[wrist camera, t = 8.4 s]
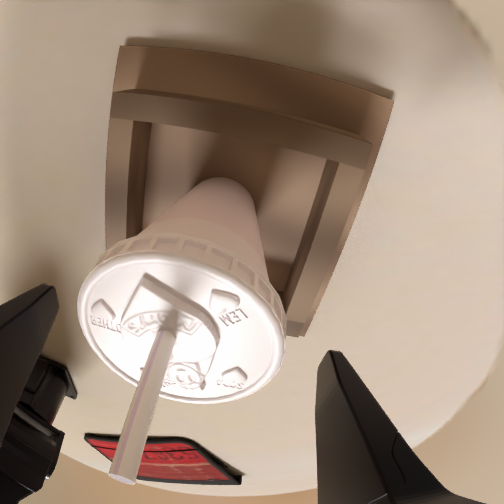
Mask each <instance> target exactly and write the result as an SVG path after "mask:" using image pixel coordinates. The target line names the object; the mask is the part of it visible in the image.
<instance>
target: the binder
mask: <svg viewBox="0 0 504 504" xmlns="http://www.w3.org/2000/svg"><path fill="white" fill-rule="evenodd" d="M84 439H85V441H86V442H87V443H89V444H90V445H91V446H92V447H94V448H95V449H96V450H98V451H99V452H100V453H101V454H103V455H104V456H105V457H106V458H107V459H109V460H110V461H111V462H112V461H113V458H114V455H115V451H116V448H117V445H118V442H119V439H120V438H109V437H102V436H97V435H94V434H85V436H84ZM218 464H219V465H221V466H223V467H225V468H228V467H227V466H226V465H225V464H223V463H222V462H221V461H219V460H218V459H217V458H215V457H214V456H213V455H211V454H210V453H209V452H207V451H206V450H204V449H203V448H202V447H200V446H199V445H198V444H196V443H195V442H193V441H191V440H189V439H185V438H179V437H171V438H153V439H146V443H145V447H144V450H143V454H142V458H141V462H140V466H139V469H138V473H137V477H136V479H138V480H145V481H155V482H165V483H182V484H201V485H241V482H242V476H240V475H237V476H231V475H230V474H228V473H227V472H226V471H225V470H224V469H223V468H221V467H220V466H219V465H218Z"/></svg>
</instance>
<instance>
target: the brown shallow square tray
mask: <svg viewBox="0 0 504 504" xmlns="http://www.w3.org/2000/svg"><path fill="white" fill-rule="evenodd" d="M393 104H394V101H393V100H390V99H388V98H385V97H383V96H380V95H377V94H375V93H372V92H369V91H367V90H364V89H361V88H358V87H355V86H352V85H349V84H346V83H343V82H340V81H337V80H334V79H331V78H327V77H324V76H320V75H317V74H313V73H310V72H306V71H302V70H299V69H295V68H291V67H287V66H282V65H278V64H274V63H269V62H264V61H260V60H255V59H249V58H244V57H238V56H233V55H226V54H220V53H213V52H205V51H197V50H188V49H178V48H165V47H149V46H120V48H119V54H118V59H117V65H116V72H115V78H114V85H113V93H112V101H111V110H110V119H109V130H108V143H107V160H106V186H105V232H106V251H107V250H108V249H110V248H111V247H112V246H114V245H115V244H116V243H118V242H119V241H122V240H125V239H128V238H131V237H134V236H137V235H138V234H139V233H141V232H142V231H143V230H144V229H146V228H147V227H148V226H149V225H150V224H151V223H152V222H154V221H155V220H156V219H157V218H158V217H159V216H160V215H162V214H163V213H164V212H165V211H166V210H167V209H169V208H170V207H171V206H172V205H173V204H175V203H176V202H177V201H178V200H179V199H181V198H182V197H183V196H184V195H185V194H187V193H188V192H189V191H190V190H192V189H193V188H194V187H195V186H196V185H198V184H199V183H200V182H202V181H204V180H206V179H209V178H214V177H224V178H229V179H232V180H234V181H237V182H238V183H240V184H241V185H243V186H244V187H245V188H246V189H247V190H248V192H249V193H250V195H251V197H252V199H253V201H254V205H255V211H256V216H257V221H258V226H259V231H260V237H261V242H262V247H263V253H264V258H265V263H266V269H267V273H268V278H269V282H270V283H271V285H272V286H273V288H274V289H275V290H276V292H277V293H278V294H279V296H280V299H281V302H282V305H283V308H284V311H285V314H286V317H287V322H286V335H288V336H293V337H298V336H305V334H306V332H307V329H308V327H309V325H310V323H311V321H312V319H313V317H314V314H315V312H316V310H317V308H318V306H319V303H320V301H321V299H322V297H323V294H324V292H325V290H326V287H327V285H328V283H329V281H330V278H331V276H332V274H333V271H334V269H335V266H336V264H337V262H338V259H339V257H340V254H341V252H342V249H343V247H344V245H345V242H346V240H347V237H348V235H349V232H350V229H351V227H352V224H353V222H354V219H355V217H356V214H357V211H358V209H359V206H360V203H361V201H362V198H363V195H364V192H365V190H366V187H367V184H368V181H369V178H370V176H371V173H372V170H373V167H374V164H375V161H376V158H377V155H378V152H379V149H380V146H381V143H382V140H383V137H384V134H385V130H386V127H387V124H388V121H389V117H390V114H391V111H392V107H393Z"/></svg>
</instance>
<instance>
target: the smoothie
mask: <svg viewBox="0 0 504 504" xmlns="http://www.w3.org/2000/svg"><path fill="white" fill-rule="evenodd" d="M77 311H78V318H79V322H80V326H81V328H82V331H83V334H84V335H85V337H86V339H87V341H88V343H89V345H90V346H91V348H92V349H93V350H94V352H95V353H96V354H97V355H98V357H99V358H100V359H101V360H102V361H103V362H104V363H105V364H106V365H107V366H108V367H109V368H110V369H111V370H112V371H114V372H115V373H116V374H118V375H119V376H120V377H122V378H123V379H124V380H126V381H128V382H129V383H131V384H133V385H135V386H136V387H137V388H136V391H135V394H134V397H133V400H132V403H131V405H130V408H129V411H128V414H127V417H126V420H125V423H124V426H123V429H122V432H121V436H120V439H119V442H118V445H117V448H116V451H115V455H114V458H113V461H112V464H111V468H110V471H109V476H110V477H112V478H114V479H116V480H118V481H121V482H124V483H127V484H135V481H136V477H137V473H138V469H139V466H140V462H141V458H142V454H143V450H144V447H145V443H146V439H147V436H148V432H149V428H150V425H151V421H152V418H153V414H154V411H155V407H156V404H157V400H158V397H159V396H160V397H163V398H167V399H170V400H175V401H180V402H186V403H197V404H212V403H223V402H228V401H233V400H237V399H240V398H242V397H245V396H248V395H250V394H252V393H254V392H256V391H258V390H259V389H261V388H262V387H264V386H265V385H266V384H267V383H269V382H270V381H271V380H272V379H273V377H274V376H275V375H276V374H277V372H278V370H279V369H280V367H281V365H282V362H283V359H284V354H285V339H286V322H287V317H286V314H285V311H284V308H283V305H282V302H281V299H280V296H279V294H278V293H277V292H276V290H275V289H274V288H273V286H272V285H271V283H270V282H269V278H268V273H267V269H266V263H265V258H264V253H263V247H262V242H261V237H260V231H259V226H258V221H257V216H256V211H255V205H254V201H253V199H252V197H251V195H250V193H249V192H248V190H247V189H246V188H245V187H244V186H243V185H241V184H240V183H238V182H237V181H234V180H232V179H229V178H224V177H214V178H209V179H206V180H204V181H202V182H200V183H199V184H198V185H196V186H195V187H194V188H193V189H192V190H190V191H189V192H188V193H187V194H185V195H184V196H183V197H182V198H181V199H179V200H178V201H177V202H176V203H175V204H173V205H172V206H171V207H170V208H169V209H167V210H166V211H165V212H164V213H163V214H162V215H160V216H159V217H158V218H157V219H156V220H155V221H154V222H152V223H151V224H150V225H149V226H148V227H147V228H146V229H144V230H143V231H142V232H141V233H139V234H138V235H137V236H134V237H131V238H128V239H125V240H122V241H119V242H118V243H116V244H115V245H114V246H112V247H111V248H110V249H108V250H107V251H106V252H104V253H103V254H102V255H101V256H100V257H99V259H98V260H97V262H96V264H95V265H94V267H93V268H92V270H91V272H90V273H89V274H88V276H87V277H86V279H85V280H84V282H83V284H82V286H81V288H80V291H79V295H78V302H77Z"/></svg>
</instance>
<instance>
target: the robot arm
mask: <svg viewBox="0 0 504 504" xmlns="http://www.w3.org/2000/svg"><path fill="white" fill-rule="evenodd" d="M58 309H59V303H58V299H57V294H56V289H55V288H54V286H52V285H49V284H41V285H39V286H37V287H35V288H33V289H31V290H29V291H27V292H25V293H23V294H21V295H19V296H17V297H15V298H13V299H12V300H10V301H8V302H6V303H4V304H2V305H0V504H18V503H19V501H20V500H22V499H24V498H25V497H27V496H29V495H30V494H32V493H33V492H37V491H38V490H39V489H41V488H42V486H43V483H44V480H45V479H48V478H49V477H50V476H51V475H52V473H53V471H54V469H55V466H56V464H57V460H58V456H59V453H60V449H61V446H62V442H63V438H64V435H65V433H64V432H62V431H59V430H58V429H56V428H55V427H53V426H52V423H53V421H54V419H55V416H56V414H57V412H58V410H59V408H60V406H61V404H62V401H63V399H64V397H65V396H67V397H70V398H72V399H76V398H77V394H76V392H75V389H74V387H73V384H72V382H71V379H70V377H69V374H68V371H67V369H66V368H65V367H64V366H62V365H60V364H58V363H55V362H53V361H50V360H48V359H46V358H43V357H41V356H39V355H40V353H41V351H42V349H43V347H44V344H45V342H46V340H47V337H48V334H49V332H50V329H51V327H52V325H53V322H54V320H55V317H56V315H57V313H58ZM315 425H316V448H317V480H318V504H485V503H482V502H478V501H474V500H471V499H468V498H465V497H462V496H458V495H456V494H454V493H452V492H450V491H449V490H447V489H446V488H445V487H444V486H443V485H442V484H441V483H440V482H439V481H438V480H437V479H436V478H435V476H434V475H433V474H432V473H431V472H430V471H429V470H428V468H427V467H426V466H425V465H424V464H423V463H422V462H421V461H420V459H419V458H418V457H417V455H416V454H415V453H414V452H413V451H412V449H411V448H410V447H409V445H408V444H407V443H406V441H405V440H404V438H403V437H402V436H401V434H400V433H399V432H398V430H397V429H396V427H395V426H394V424H393V423H392V422H391V420H390V419H389V417H388V416H387V415H386V413H385V412H384V410H383V409H382V408H381V406H380V405H379V403H378V402H377V401H376V399H375V398H374V396H373V395H372V394H371V392H370V391H369V389H368V388H367V387H366V385H365V384H364V382H363V381H362V380H361V378H360V377H359V376H358V374H357V373H356V371H355V370H354V369H353V367H352V366H351V364H350V363H349V362H348V360H347V359H346V358H345V356H344V355H343V353H342V352H340V351H334V350H329V351H327V353H326V355H325V356H324V358H323V360H322V361H321V363H320V365H319V367H318V372H317V389H316V404H315Z"/></svg>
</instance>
